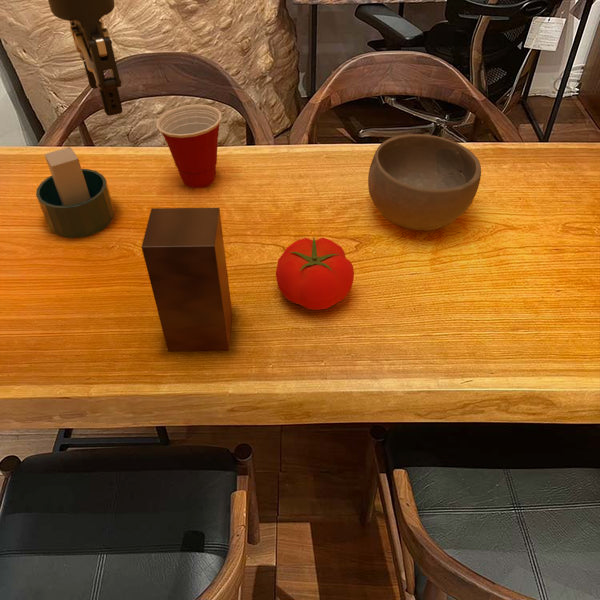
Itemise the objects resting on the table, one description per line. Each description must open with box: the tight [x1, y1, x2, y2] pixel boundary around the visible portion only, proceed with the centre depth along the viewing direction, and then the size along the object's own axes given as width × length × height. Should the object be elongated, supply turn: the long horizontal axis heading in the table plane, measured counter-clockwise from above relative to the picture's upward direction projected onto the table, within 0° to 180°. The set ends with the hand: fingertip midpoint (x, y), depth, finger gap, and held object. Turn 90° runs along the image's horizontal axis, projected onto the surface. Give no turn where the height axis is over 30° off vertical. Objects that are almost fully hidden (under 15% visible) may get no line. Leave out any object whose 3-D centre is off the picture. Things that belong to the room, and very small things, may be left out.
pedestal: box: [141, 207, 233, 352], centre depth 73 cm, size 8×7×18 cm
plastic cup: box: [155, 103, 222, 189], centre depth 100 cm, size 11×11×12 cm
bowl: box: [367, 133, 482, 231], centre depth 94 cm, size 17×18×10 cm
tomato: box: [275, 237, 355, 311], centre depth 82 cm, size 11×11×8 cm
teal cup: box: [35, 168, 115, 239], centre depth 94 cm, size 11×11×6 cm
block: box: [44, 146, 91, 206], centre depth 92 cm, size 4×4×11 cm
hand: (106, 99), depth 80 cm, fingers open, 8 cm apart
